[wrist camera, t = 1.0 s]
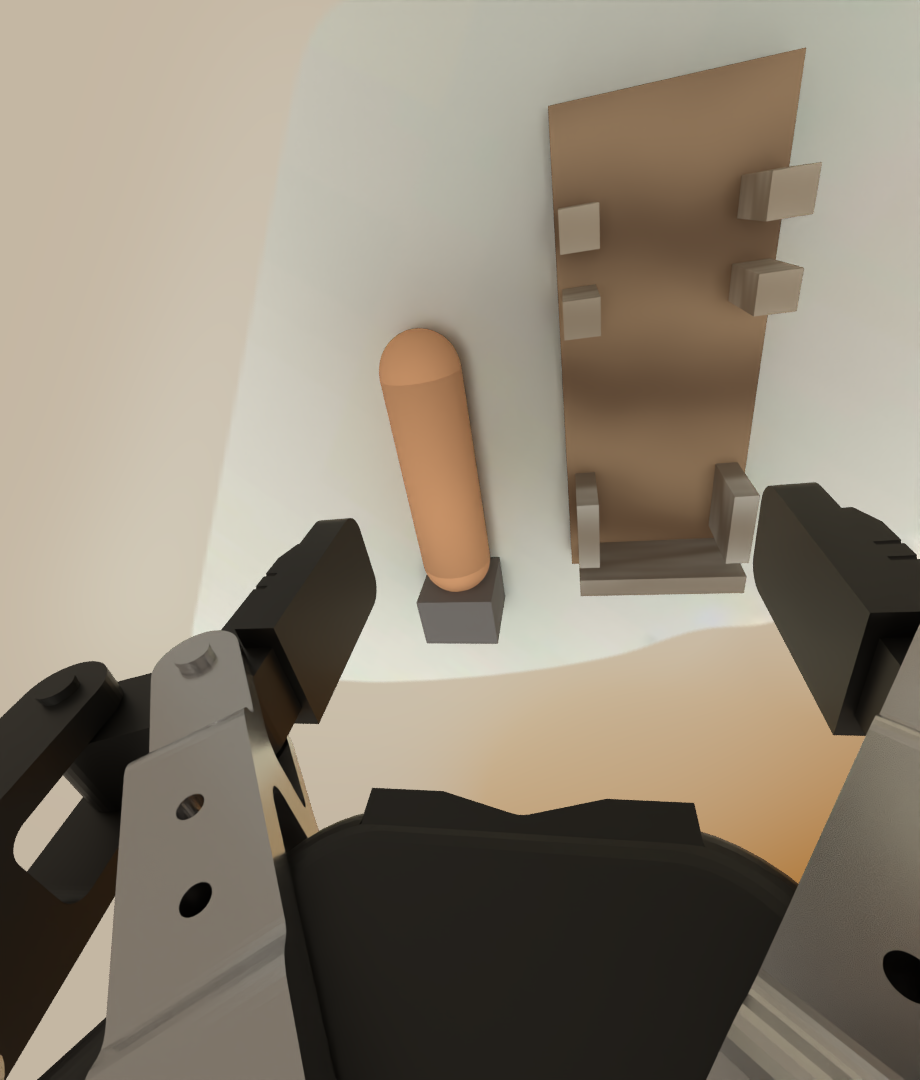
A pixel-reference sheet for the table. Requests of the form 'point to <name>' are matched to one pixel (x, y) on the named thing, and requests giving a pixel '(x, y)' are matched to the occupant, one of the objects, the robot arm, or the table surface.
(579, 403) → the brown pegged board
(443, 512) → the tan rounded rod
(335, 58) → the table surface
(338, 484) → the table surface
